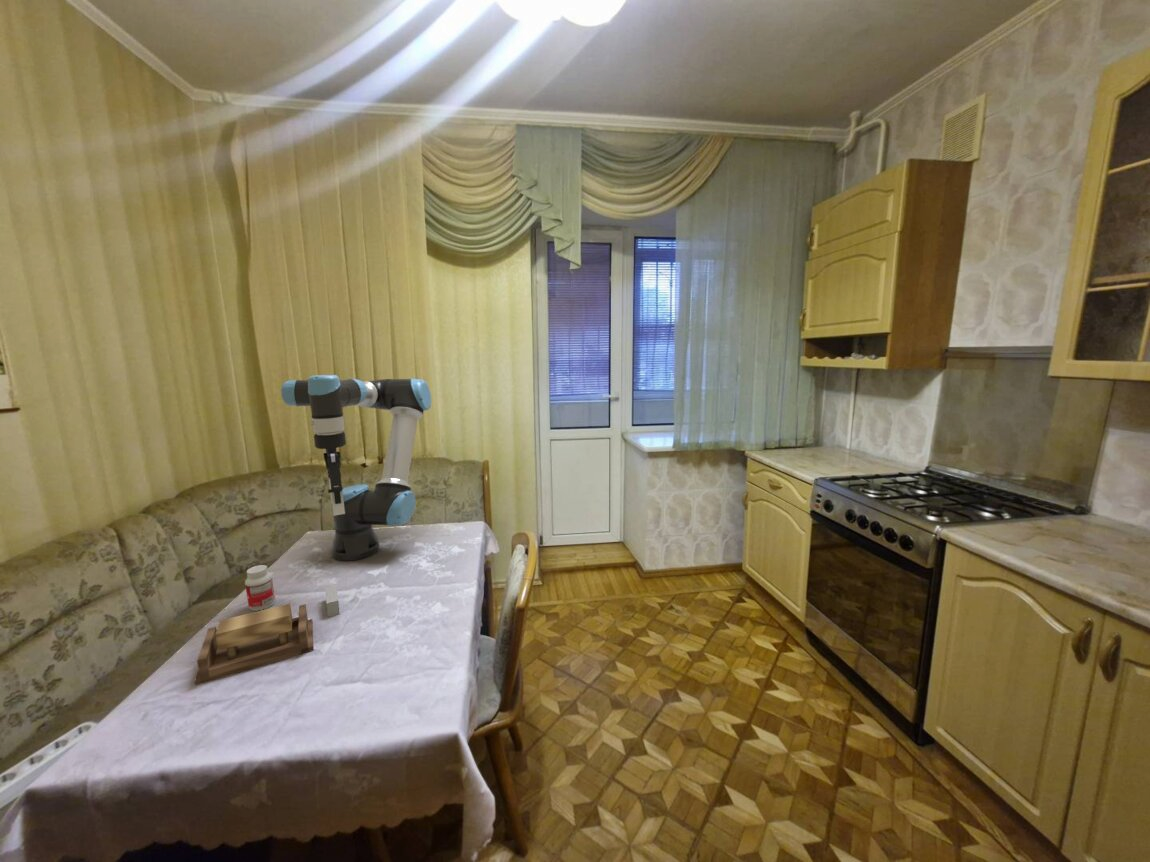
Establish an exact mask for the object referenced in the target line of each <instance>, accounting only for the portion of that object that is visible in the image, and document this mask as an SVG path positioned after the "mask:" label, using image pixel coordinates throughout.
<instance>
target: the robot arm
mask: <svg viewBox="0 0 1150 862" xmlns="http://www.w3.org/2000/svg"><path fill="white" fill-rule="evenodd" d="M280 393H281V399H282V401H283V402H284V403H285V404H286V405H288V406H292V407H293V406H295V407H310V412H311V420H312V421H310V422H309V425H310V426H312V431H313V433H315V434H313V441H314V447H315V448H316V449H317V450H325V452H323V458H324V460H323V461H324V463H325V466H326V470H327V476H328V484H329V486H328V487H329V489H327V491H328V494H329V495H330V501H331V507H332V514H333V524H334V530H335V531H334V532H335V534H334V539H333V543H332V547H331V556H332V558H333V559H334V560H336V561H342V562H345V561H346V562H347V561H348V562H349V561H355V560H356V561H357V560H361V559H364V558H367V557H370V556H372V555H374V554H375V553H377V552H378V551H379V549H380V540H379V538H378V536H377V534H376V532H375V529H374V527H373V525H375V526H376V525H378V526H392V527H393V526H394V527H395V526H403V525H405V524H407V523H409V520H411V518H412V516H413V514H414V511H415V508H416V501H417V500H416V495H415V492H413V491H411V490H412V486H411V485H410V484H409V483H408V481H409V475H410V470H411V469H410V468H411V463H412V457H413V450H414V445H415V439H416V432H417V427H418V421H419V420H421V419H422V418H423V417H424V412H426V411H429V409H430V408H431V406H432V394H431V391H430V387H429V385H428V383H427V382H426V381H425V380H423V379H421V378H420V379H419V378H412V377H411V378H384V379H376V380H360V379H356V378H347V379H340V378H339V376H338V375H336V374H319V375H316V374H315V375H311V376H309V377H308V379H303V380H301V379H294V380H287V381H284V382H283V384H282V386H281V389H280ZM351 406H359V407H361V408H365V409H366V408H371V409H376V410H385V411H387V410H388V411H389V413H390V414H391V415H392V420H391V425H390V431H389V436H388V443H387V447H386V448H387V449H386V453H385V459H384V464H383V470H382V476H381V479H380V480H379V481H377V482H376V483H375V488H374V489H373V490H372V489H371V490H370V487H369V485H368V484H365V483H364V484H361V483H360V484H355V485H354V484H353V485H350V486H346V487H343V485H342V483H343V482H342V479H341V477H342V473H341V470H340V469H341V467H342V466H341V453H340V451H337V449H338V448H342V447H345V446H346V444H347V441H346V440H347V439H346V433H345V429H346V428H345V420H344V412H343V408H347V407H351Z"/></svg>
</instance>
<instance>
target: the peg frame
mask: <svg viewBox="0 0 1150 862" xmlns="http://www.w3.org/2000/svg"><path fill="white" fill-rule="evenodd" d="M313 624H314V621H313V618H311V619H309V618H308V611H307V605H306V604H302V605H301V604H300V605H299V606H298V616H297V617H292V631H289V632H285V633H281V634H277V635H274V636H270V637H266V638H263V639H259V640H255V641H252V642H248V643H244V644H241V645H237V646H233V647H230V648H226V649H222V650H219V651H218V646H217V640H216V635H215V634H216V631H217V626H214V627H210V628H207V631H206V635H205V636H204V640H203V643H202V647H200V648H201V649H200V652H199V655H198V658H197V660H196V661H197V666H198V670H197V673H196V676H195V679H194V684H195V686H197V685H201V684H205V683H207V682H211V681H215V680H218V679H220V678H224V677H227V676H230V675H235V674H238V673H241V672H245V671H248V670H251V669H255V668H257V667H261V666H265V665H268V664H272V663H275V662H279V661H282V660H285V659H288V658H292V657H296V656H298V655H301V654H305V653H308V652H312V651H314V626H313ZM200 683H201V684H200Z"/></svg>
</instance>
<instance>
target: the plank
mask: <svg viewBox="0 0 1150 862" xmlns="http://www.w3.org/2000/svg"><path fill="white" fill-rule="evenodd" d="M292 613H293V612H292V607H291V603H287V604H286V603H285V604H282V605H277V606H275V607H269V608H267V609H264V610H260V611H252V612H250V613H245V614H242V615H237V616H233V617H229V618H225V619H222V620H219V622H218V626H217V627H216V629H217V631H216V634H215V635H216V640H217V646H218V651H219V650H222V649H226V648H230V647H233V646H237V645H241V644H244V643H248V642H252V641H255V640H259V639H263V638H266V637H270V636H274V635H277V634H281V633H285V632H289V631H292V619H293V614H292Z"/></svg>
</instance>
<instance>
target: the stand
mask: <svg viewBox="0 0 1150 862" xmlns="http://www.w3.org/2000/svg"><path fill="white" fill-rule="evenodd" d="M324 590H325V591H324V592H325V603H326V610H327V617H328V618H331V617H334V616H338V615H341V614H340V613H341V611H340V606H339V605H340V603H339V597H338V596H339V595H338V589H337V583H336V584H331V585H326V586H324Z"/></svg>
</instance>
